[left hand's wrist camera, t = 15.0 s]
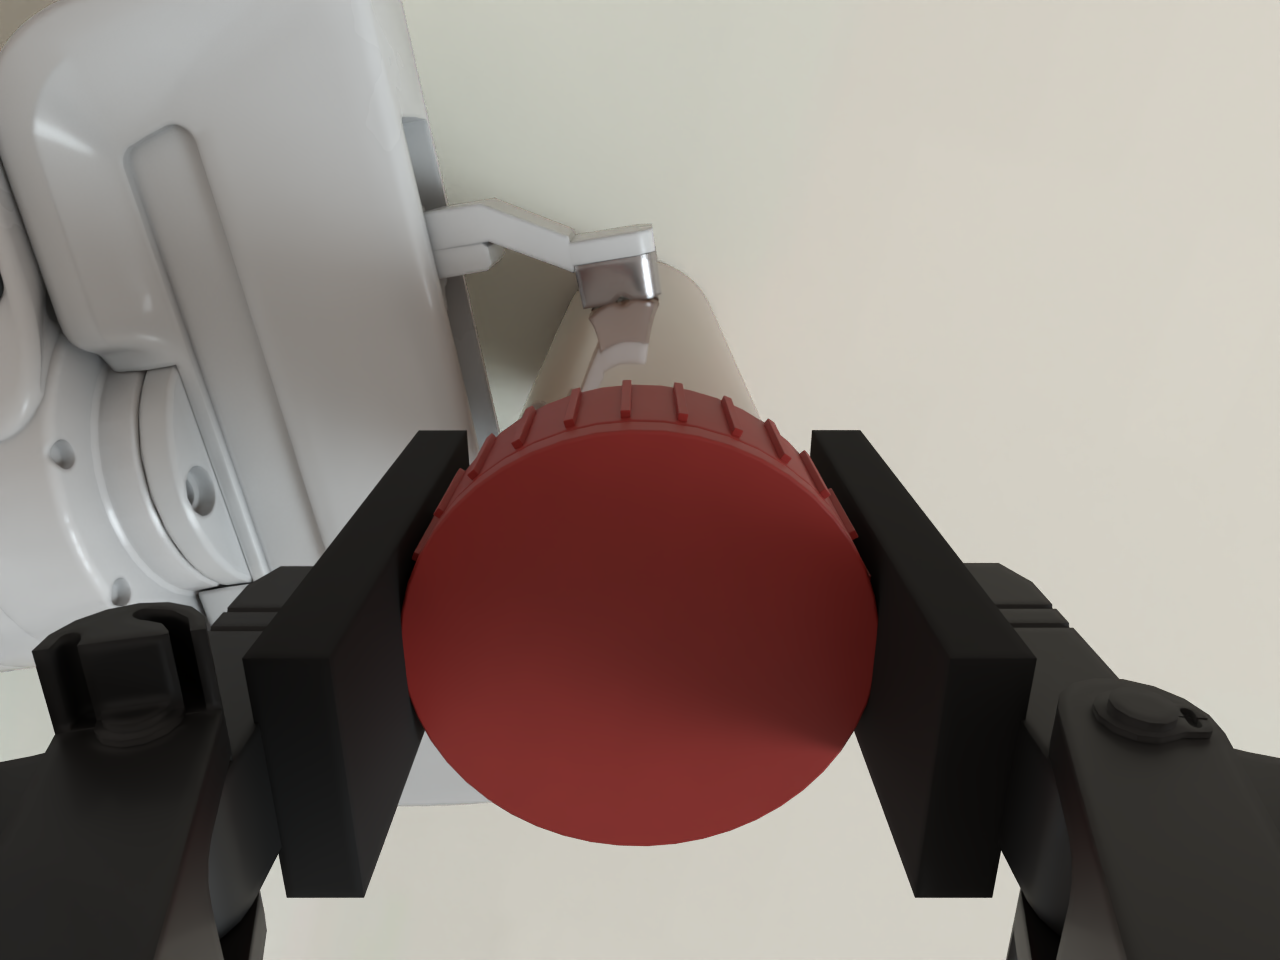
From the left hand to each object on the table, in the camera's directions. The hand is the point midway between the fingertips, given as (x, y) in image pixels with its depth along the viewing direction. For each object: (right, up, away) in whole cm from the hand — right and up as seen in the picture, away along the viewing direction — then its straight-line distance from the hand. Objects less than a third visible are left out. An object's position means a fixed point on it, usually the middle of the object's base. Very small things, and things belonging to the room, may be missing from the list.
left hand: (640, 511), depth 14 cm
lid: (0, -1, -4) cm, 4 cm away
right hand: (+1, +3, +7) cm, 7 cm away
